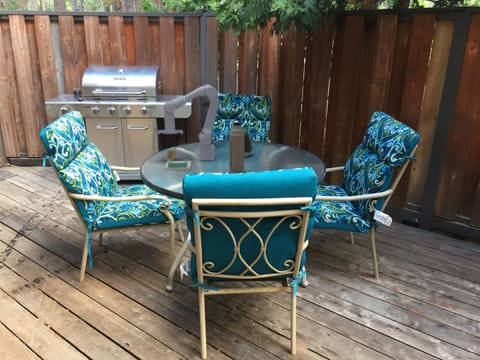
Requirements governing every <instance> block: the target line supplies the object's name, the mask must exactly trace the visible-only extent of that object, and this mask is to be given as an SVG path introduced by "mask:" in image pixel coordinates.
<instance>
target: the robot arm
mask: <svg viewBox="0 0 480 360" xmlns="http://www.w3.org/2000/svg"><path fill="white" fill-rule="evenodd" d="M218 94H219V93H218V90H217V89H216V88H215V87H214V86H212V85H210V84H207V83H206V84H204V85H201V86H200V87H198V88H196V89H194V90H192V91H191V92H189V93H187V94H186V95H184V96H183V95H177V96H176V98H173V99H172V100H171V99H170V100H169V101H166V102H165V103H164V104H163V107H162V108H163V110H164V116H163V117H164V129H160V130H157V131H156V132H157V135H159V138H160V139H161V142H162V145H163V147H166V141H165V140H166V139H165V135H175V137H176V147H179V144H180V143H179V141H180V138H181V137H182V135H183V134H184V131H183V129H176V124H175V123H176V122H175V111H176V110H178V109H180V108H182V107H183V106H186V104H187V102H188V101H191V100H193V99H195V98H197V97H200V96H201V97H205V96H206V97H207V99H208V100H209V102H210V106H209V109H208V113H207V112H206V113H207V114H206V116H205V117H206V118H205V120H204V125H203V128H201V131H200V132H199V134H198V140H199V143H198V147H199V148H198V149H199V153H198V154H199V155H198V161H214V160H215V157H216V153H215V144H213V127H214V122H215V120H216V115H217V112H218V109H219V106H220V98H219V95H218ZM218 105H219V106H218ZM211 136H212V138H211ZM211 142H212V144H211Z"/></svg>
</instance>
